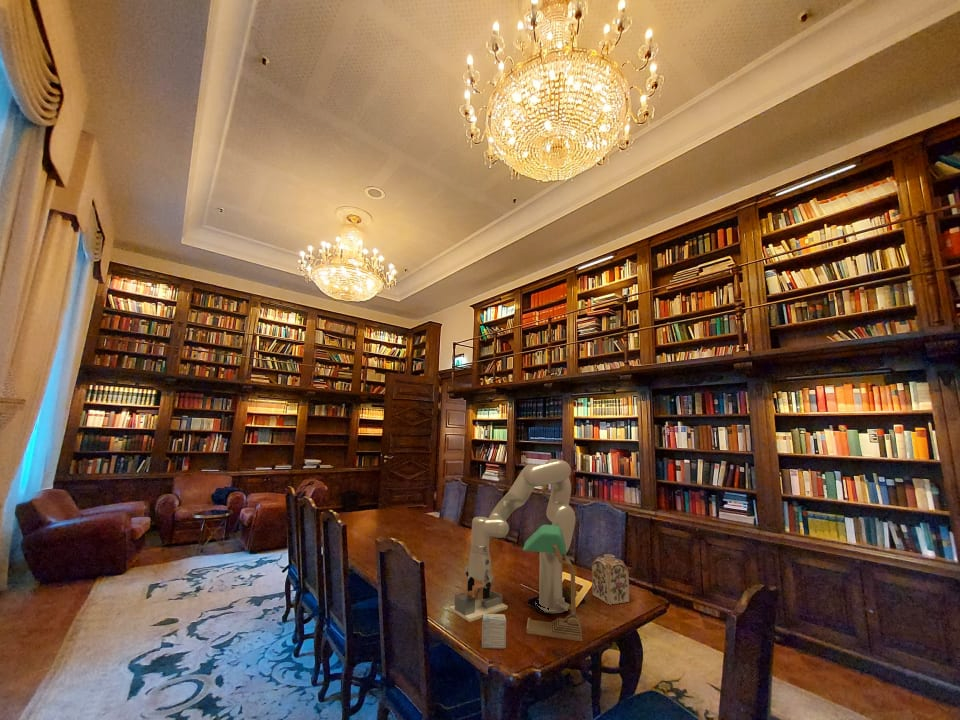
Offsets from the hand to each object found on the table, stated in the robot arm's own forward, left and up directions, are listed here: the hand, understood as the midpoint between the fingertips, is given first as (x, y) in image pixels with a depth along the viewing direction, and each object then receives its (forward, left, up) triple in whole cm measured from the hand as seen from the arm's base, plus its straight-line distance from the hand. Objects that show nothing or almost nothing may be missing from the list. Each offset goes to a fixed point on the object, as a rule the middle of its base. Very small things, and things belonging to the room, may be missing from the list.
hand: (478, 594), depth 153 cm
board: (0, -1, -5) cm, 6 cm away
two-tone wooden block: (0, +3, -4) cm, 5 cm away
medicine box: (-24, +13, -6) cm, 28 cm away
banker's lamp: (-30, -11, -6) cm, 32 cm away
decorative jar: (-26, -57, -6) cm, 62 cm away
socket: (0, +7, -4) cm, 8 cm away
